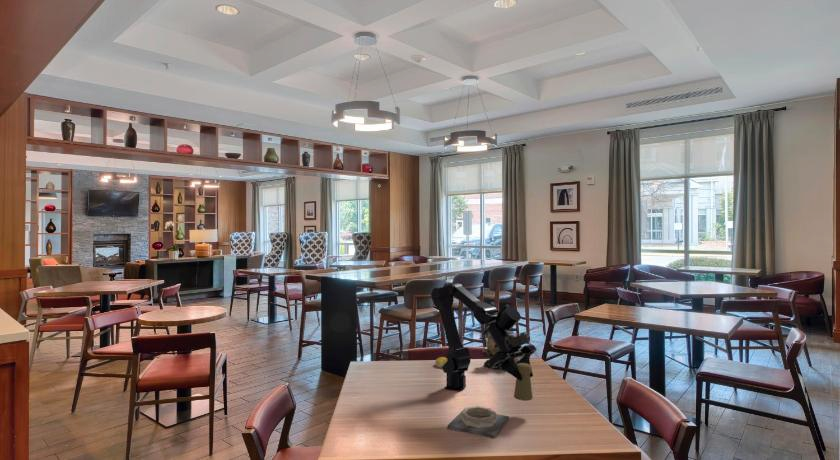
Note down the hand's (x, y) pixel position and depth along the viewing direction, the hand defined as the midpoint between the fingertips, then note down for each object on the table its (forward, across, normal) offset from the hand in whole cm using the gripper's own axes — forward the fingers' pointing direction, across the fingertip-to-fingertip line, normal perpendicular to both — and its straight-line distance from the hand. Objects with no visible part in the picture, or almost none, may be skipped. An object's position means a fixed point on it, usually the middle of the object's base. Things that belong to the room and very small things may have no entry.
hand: (526, 378), depth 154 cm
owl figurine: (-21, +36, +40) cm, 57 cm away
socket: (+5, -17, +12) cm, 21 cm away
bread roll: (-32, +16, +51) cm, 62 cm away
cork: (+4, 0, +6) cm, 7 cm away
